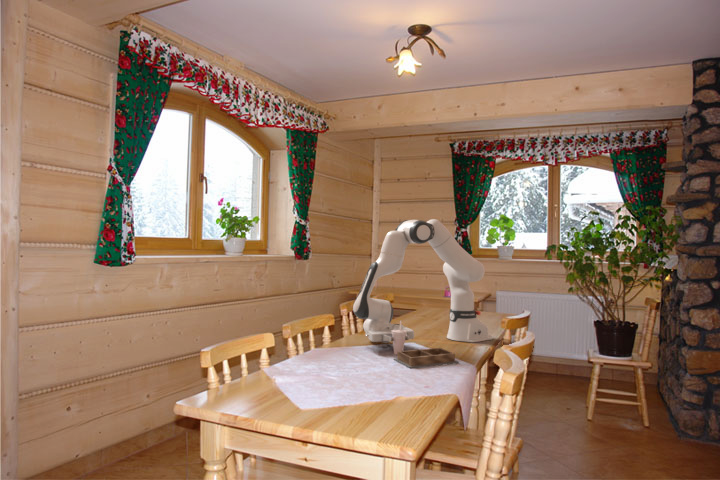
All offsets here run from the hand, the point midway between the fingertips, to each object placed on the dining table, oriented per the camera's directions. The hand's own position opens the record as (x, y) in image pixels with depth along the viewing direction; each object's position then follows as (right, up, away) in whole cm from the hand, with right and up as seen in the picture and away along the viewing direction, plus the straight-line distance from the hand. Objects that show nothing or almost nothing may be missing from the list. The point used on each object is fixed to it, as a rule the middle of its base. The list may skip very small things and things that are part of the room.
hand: (399, 338), depth 198 cm
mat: (+10, -7, -10) cm, 15 cm away
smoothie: (0, -7, +1) cm, 7 cm away
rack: (+10, -7, -10) cm, 15 cm away
